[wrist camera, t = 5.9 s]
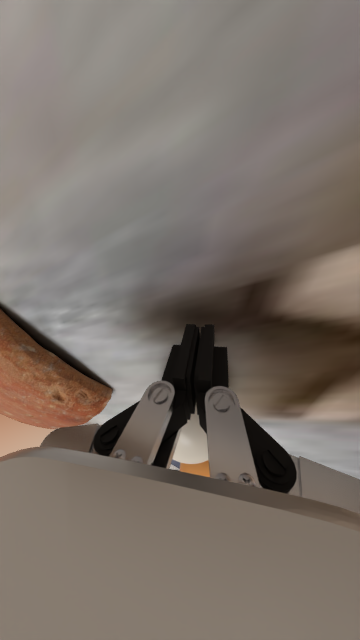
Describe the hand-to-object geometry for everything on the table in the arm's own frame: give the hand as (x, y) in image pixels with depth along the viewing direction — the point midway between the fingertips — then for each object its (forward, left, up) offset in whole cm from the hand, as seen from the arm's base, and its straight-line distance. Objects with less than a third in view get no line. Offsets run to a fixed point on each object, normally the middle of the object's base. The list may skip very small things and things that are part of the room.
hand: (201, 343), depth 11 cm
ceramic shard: (+9, +19, -2) cm, 21 cm away
